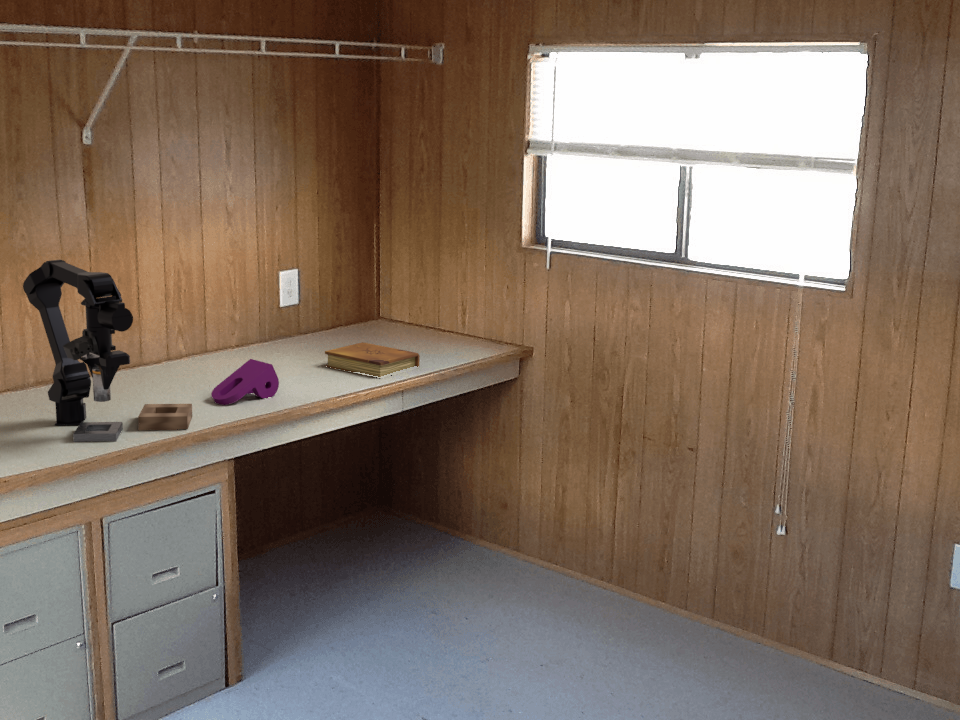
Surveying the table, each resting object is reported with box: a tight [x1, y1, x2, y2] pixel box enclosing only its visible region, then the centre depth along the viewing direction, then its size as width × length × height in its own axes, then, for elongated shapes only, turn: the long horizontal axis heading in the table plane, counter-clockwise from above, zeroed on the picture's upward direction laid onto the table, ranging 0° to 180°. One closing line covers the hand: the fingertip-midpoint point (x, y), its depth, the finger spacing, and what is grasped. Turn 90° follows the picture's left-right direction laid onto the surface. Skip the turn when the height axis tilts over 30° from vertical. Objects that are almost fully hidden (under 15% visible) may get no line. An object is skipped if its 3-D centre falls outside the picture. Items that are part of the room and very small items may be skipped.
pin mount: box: [72, 421, 124, 443], centre depth 280 cm, size 10×10×2 cm
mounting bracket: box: [210, 358, 280, 406], centre depth 318 cm, size 9×8×18 cm
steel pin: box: [92, 367, 112, 403], centre depth 278 cm, size 4×4×8 cm
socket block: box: [137, 403, 193, 431], centre depth 292 cm, size 12×12×4 cm
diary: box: [324, 342, 421, 377], centre depth 357 cm, size 23×19×6 cm
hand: (101, 387), depth 278 cm, fingers closed on steel pin, 4 cm apart
